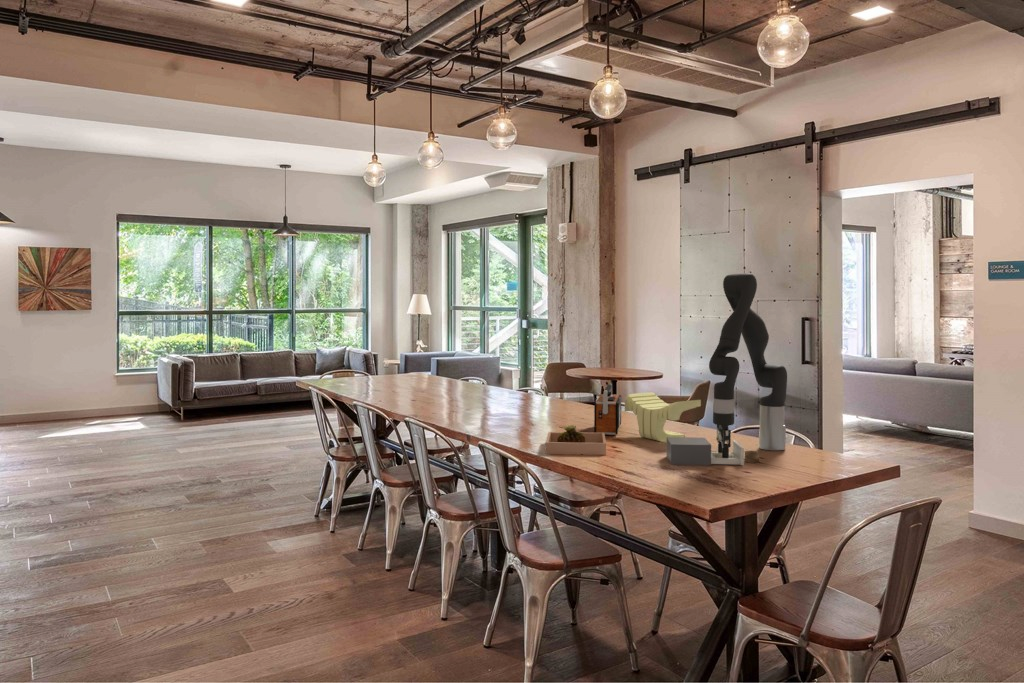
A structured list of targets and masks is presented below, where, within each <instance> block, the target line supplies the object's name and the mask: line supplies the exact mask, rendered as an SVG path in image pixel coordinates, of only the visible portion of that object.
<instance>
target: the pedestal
mask: <svg viewBox="0 0 1024 683" xmlns="http://www.w3.org/2000/svg"><path fill="white" fill-rule="evenodd" d="M744 462H745V463H749V464H758V463H759V462H760V451H757V450H744Z"/></svg>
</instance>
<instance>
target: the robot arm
mask: <svg viewBox="0 0 1024 683" xmlns="http://www.w3.org/2000/svg"><path fill="white" fill-rule="evenodd" d="M757 282H758V281H757V278H756V276H755V275H754V274H752V273H748V272H746V273H733V274H732V273H729V274H728V275H725V277H724V278H723V281H722V289H723V292H724V294H725V297H726V299H727V301H728V303H729V305H730V307H731V309H732V311H733V312H732V313H731V314H730V315H729V317H728V318H727V319H726V320H725V322H724V323H723V325H722V329H721V332H720V337H719V341H718V345H717V346H716V348H715V350H714V351H713V354H712V356H711V358H710V360H709V363H708V364H709V365H708V369H709V371H710V373H711V374H712V375H714V376H725V379H724V380H723V381H719V382H716V383H714V385H713V401H712V402H713V403H712V423H713V424H714V425H715V426H716V442H717V452H718V453H722V457H723V458H729V452H730V448H731V446H732V444H731V441H732V440H731V437H732V436H731V433H732V432H731V430H730V429H729V426H733V425H734V424H735V409H736V408H735V407H736V406H735V387H736V382H737V378H738V374H739V371H740V362H739V360H738V358H737V357H735V356H727V355H728V354H731V353H734V352H737V351H738V349H739V347H740V340H741V336H742V338H743V341H744V343H745V346H746V348H747V352H748V355H749V358H750V361H751V366H752V370H753V374H754V378H755V380H756V383H757V385H758V386H759V387H762V388H766V389H767V388H768V389H771V393H769V395H765V396H761V398H760V399H759V433H758V434H759V436H758V437H759V440H758V442H759V444H758V447H759V449H761V450H766V451H785V450H786V439H787V438H786V434H787V432H786V430H787V427H786V424H785V409H786V408H785V405H786V404H785V403H786V398H787V388H788V387H787V385H788V371H787V369H786V367H785V366H784V365H781V364H780V365H779V364H770V363H769V364H768V363H767V361H766V359H765V351H766V349H767V346H768V343H769V340H770V337H769V336H770V335H769V332H768V329H767V326H766V323H765V321H764V320H763V318H762V317H761V316H760V315H759V314H758V313H757V312H755V310H753V309H752V308H751V307H752V304H753V302H754V299H755V296H756V294H757V293H756V292H757V288H758V283H757Z"/></svg>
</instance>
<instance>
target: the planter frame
mask: <svg viewBox="0 0 1024 683" xmlns="http://www.w3.org/2000/svg"><path fill="white" fill-rule="evenodd" d="M562 432H563V431H562ZM562 432H560V431H554V432H553V431H548V432H547V437H546V440H545V454H546V453H547V454H546V455H581V454H583V455H585V456H589V455H591V456H593V455H596V456H601V455H602V456H603V455H604V456H606V455H607V441H606V435H605V433H594V432H581V433H582V434H583V436H585V441H584V442H585V443H575V442H557V438H558V437H559V435H560V434H561V433H562Z"/></svg>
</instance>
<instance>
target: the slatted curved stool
mask: <svg viewBox="0 0 1024 683" xmlns="http://www.w3.org/2000/svg"><path fill="white" fill-rule="evenodd" d="M701 406H702V399H693V400H684V401H683V400H681V401H676V402H672V403H667V402H665V401H664V400H663V399H661V398H660V397H659V396H657V394H656V393H655V392H654V391H650V392H648V391H647V392H636V393H629V394H628V395H627V396H626V397H625V400H624V412H632V414H634V415H635V416H636V420H637V424H638V425H637V426H638V433H639V436H640V437H641V438H643V439H644V438H645V439H649V440H653V441H657V442H661V443H667V437H686V435H685V434H684V433H679V432H676V431H671V430H664V428H665V427H664V426H665V423H667V422H666V421H667V420H669V421H679V420H680V418H681V415H682V414H683V413H684V412H687V411H688V410H692V409H696V408H699V407H701Z"/></svg>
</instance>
